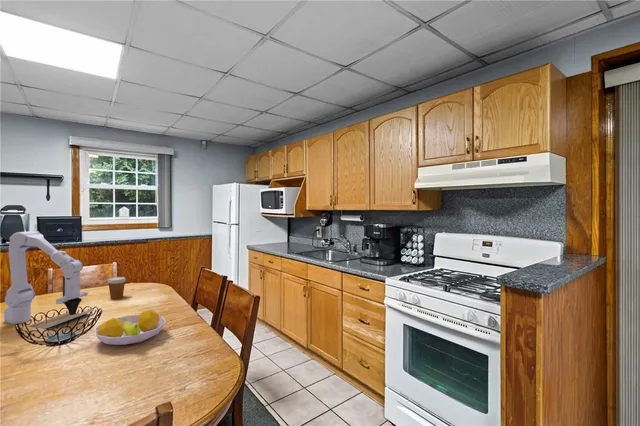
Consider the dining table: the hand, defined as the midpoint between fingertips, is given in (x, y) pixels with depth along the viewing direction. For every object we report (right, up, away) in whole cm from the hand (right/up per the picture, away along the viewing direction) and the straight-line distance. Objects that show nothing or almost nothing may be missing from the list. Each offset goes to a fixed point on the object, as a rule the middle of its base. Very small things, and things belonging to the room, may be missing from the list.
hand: (72, 314), depth 151 cm
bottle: (-27, -3, +32) cm, 42 cm away
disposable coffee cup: (-6, -4, +42) cm, 42 cm away
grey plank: (-2, -3, 0) cm, 3 cm away
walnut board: (-10, -4, +2) cm, 11 cm away
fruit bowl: (+37, -6, -15) cm, 41 cm away
